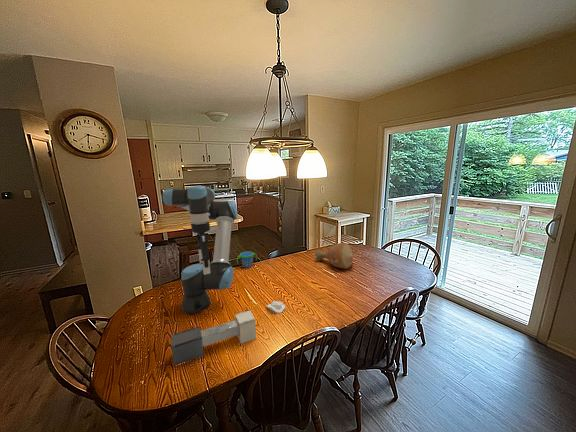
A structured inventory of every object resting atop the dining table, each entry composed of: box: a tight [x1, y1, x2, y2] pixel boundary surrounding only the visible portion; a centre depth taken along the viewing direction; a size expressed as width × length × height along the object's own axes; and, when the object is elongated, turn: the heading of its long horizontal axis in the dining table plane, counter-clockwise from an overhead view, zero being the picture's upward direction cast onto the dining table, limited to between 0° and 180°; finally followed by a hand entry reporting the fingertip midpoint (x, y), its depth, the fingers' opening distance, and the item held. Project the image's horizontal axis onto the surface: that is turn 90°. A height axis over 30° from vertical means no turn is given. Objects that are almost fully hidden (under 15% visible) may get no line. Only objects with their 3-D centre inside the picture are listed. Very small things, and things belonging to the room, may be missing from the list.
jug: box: [314, 242, 354, 270], centre depth 179 cm, size 20×19×30 cm
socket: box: [234, 309, 257, 345], centre depth 107 cm, size 7×8×10 cm
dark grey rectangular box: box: [170, 326, 205, 366], centre depth 96 cm, size 11×7×10 cm, turn 117°
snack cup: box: [236, 250, 258, 269], centre depth 180 cm, size 16×10×10 cm
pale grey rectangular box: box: [200, 319, 240, 347], centre depth 102 cm, size 23×5×5 cm, turn 117°
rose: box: [266, 300, 286, 314], centre depth 127 cm, size 10×4×10 cm
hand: (204, 267), depth 106 cm, fingers open, 13 cm apart
